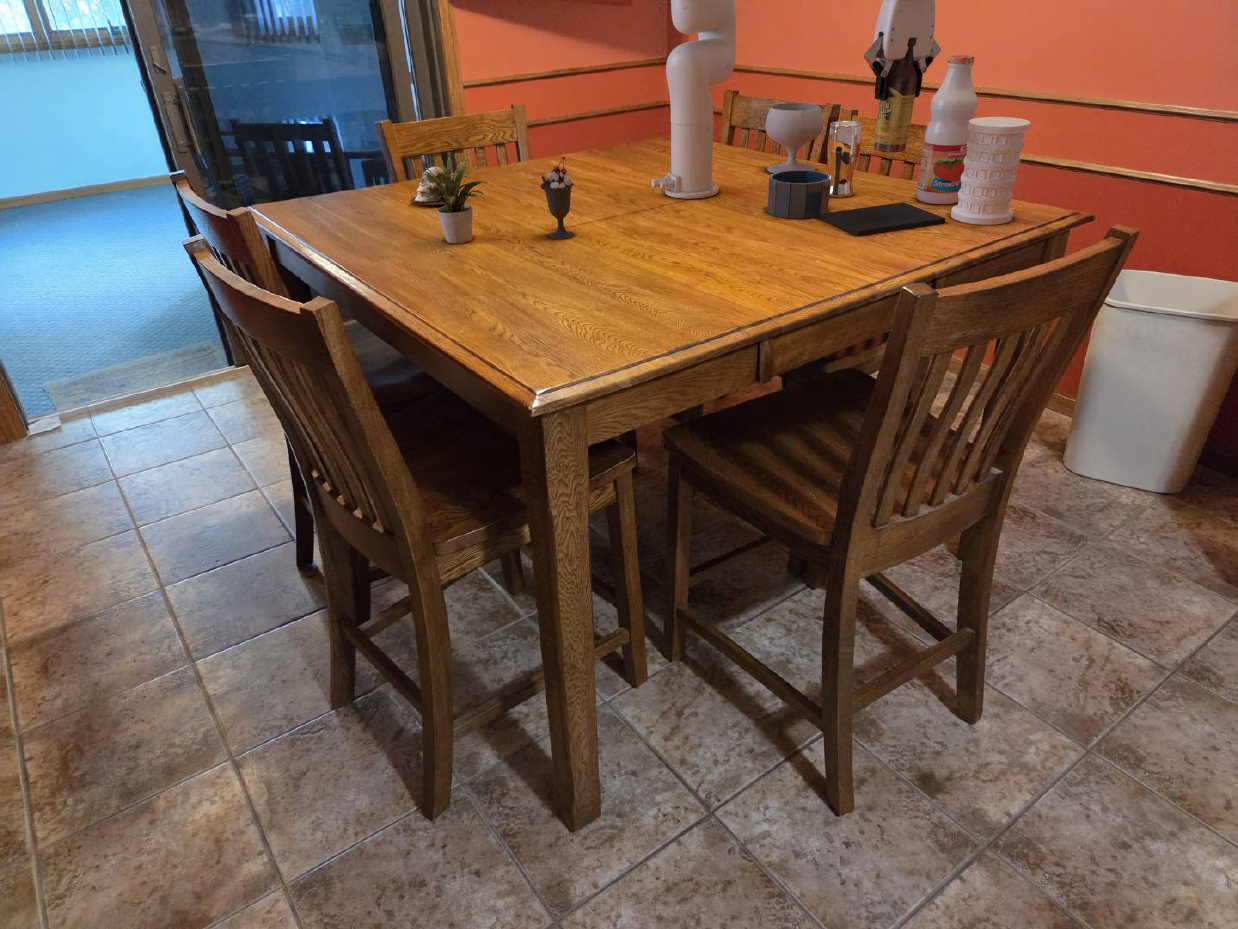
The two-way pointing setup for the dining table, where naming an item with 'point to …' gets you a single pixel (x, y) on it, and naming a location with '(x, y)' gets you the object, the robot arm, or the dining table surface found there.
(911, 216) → the placemat
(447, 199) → the house plant
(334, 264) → the dining table surface
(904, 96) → the sauce bottle
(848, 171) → the beer glass
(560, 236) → the sundae
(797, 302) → the dining table surface
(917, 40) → the robot arm
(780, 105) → the chalice
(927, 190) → the fruit juice
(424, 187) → the skull
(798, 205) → the holder
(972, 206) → the decorative container
